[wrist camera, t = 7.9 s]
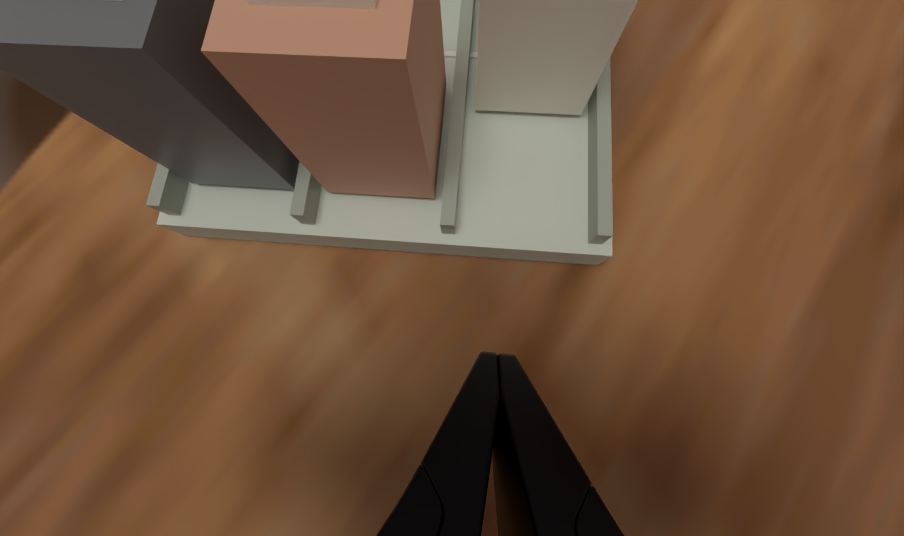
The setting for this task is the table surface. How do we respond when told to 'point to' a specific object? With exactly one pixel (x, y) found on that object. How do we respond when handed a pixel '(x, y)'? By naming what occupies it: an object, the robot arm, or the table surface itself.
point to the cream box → (545, 52)
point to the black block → (145, 84)
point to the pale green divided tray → (441, 183)
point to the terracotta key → (341, 85)
